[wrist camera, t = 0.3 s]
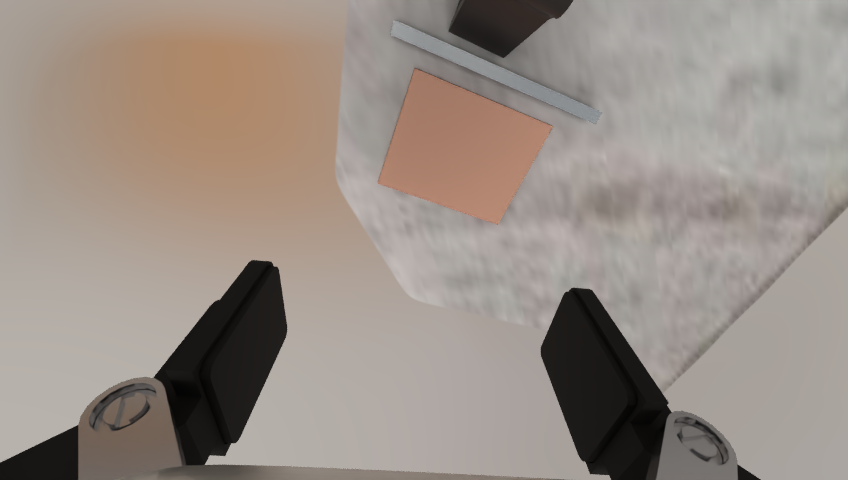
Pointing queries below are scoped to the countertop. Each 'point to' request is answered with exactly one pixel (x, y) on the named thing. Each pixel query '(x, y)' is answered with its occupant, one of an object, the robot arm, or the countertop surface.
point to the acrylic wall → (493, 71)
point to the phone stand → (503, 21)
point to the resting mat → (460, 148)
